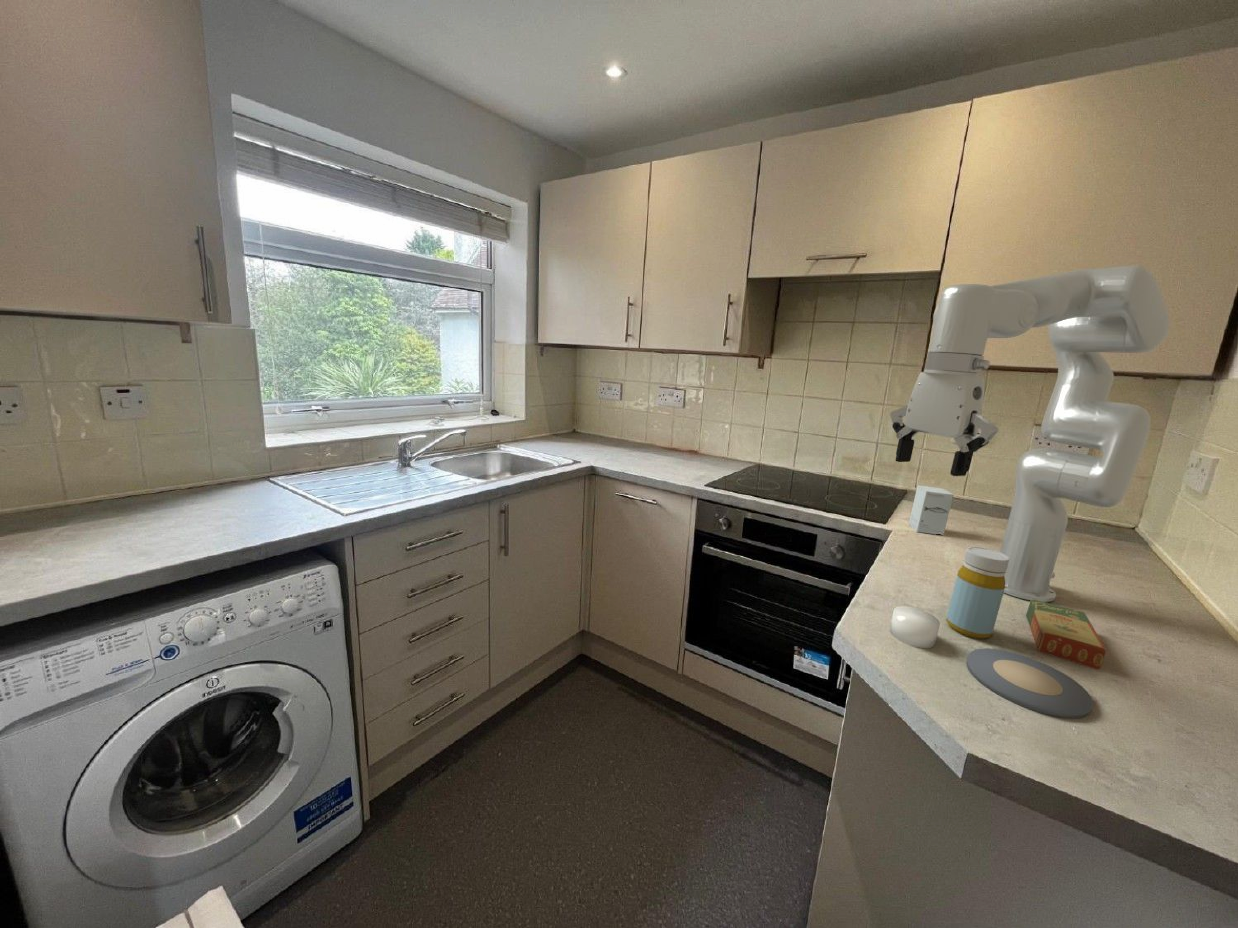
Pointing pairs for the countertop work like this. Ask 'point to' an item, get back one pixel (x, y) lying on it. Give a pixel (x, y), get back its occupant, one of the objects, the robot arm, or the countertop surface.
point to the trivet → (1029, 683)
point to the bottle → (978, 592)
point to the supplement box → (930, 510)
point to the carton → (1065, 634)
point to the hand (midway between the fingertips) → (928, 468)
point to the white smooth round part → (914, 627)
